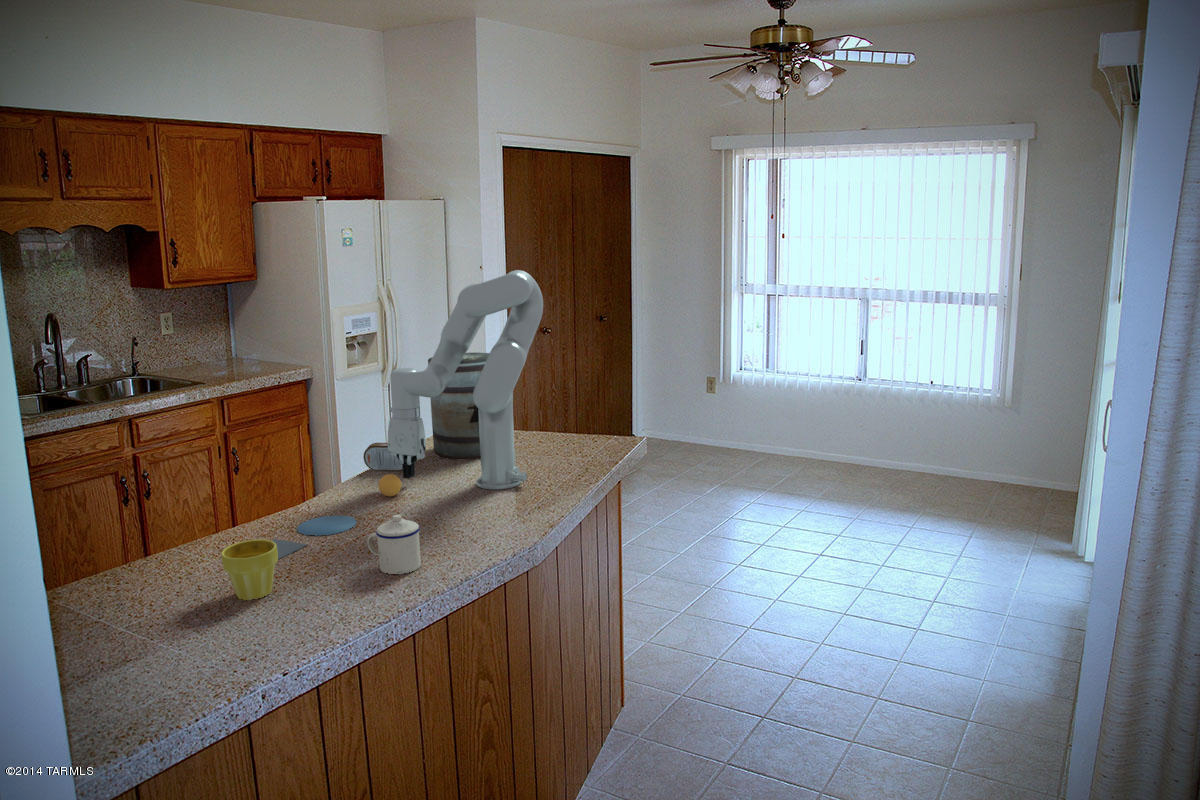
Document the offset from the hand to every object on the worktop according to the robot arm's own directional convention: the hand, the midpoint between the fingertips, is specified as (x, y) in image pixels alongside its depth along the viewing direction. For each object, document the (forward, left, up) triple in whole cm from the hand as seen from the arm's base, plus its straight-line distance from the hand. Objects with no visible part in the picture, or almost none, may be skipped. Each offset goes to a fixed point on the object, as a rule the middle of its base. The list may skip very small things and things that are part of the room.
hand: (408, 477), depth 247 cm
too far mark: (-1, +51, -3) cm, 51 cm away
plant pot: (-15, +71, -3) cm, 73 cm away
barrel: (+5, -39, -3) cm, 39 cm away
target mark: (-1, +34, -3) cm, 34 cm away
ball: (-1, +9, 0) cm, 9 cm away
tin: (+15, -11, -3) cm, 19 cm away
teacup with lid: (-33, +49, -3) cm, 59 cm away
